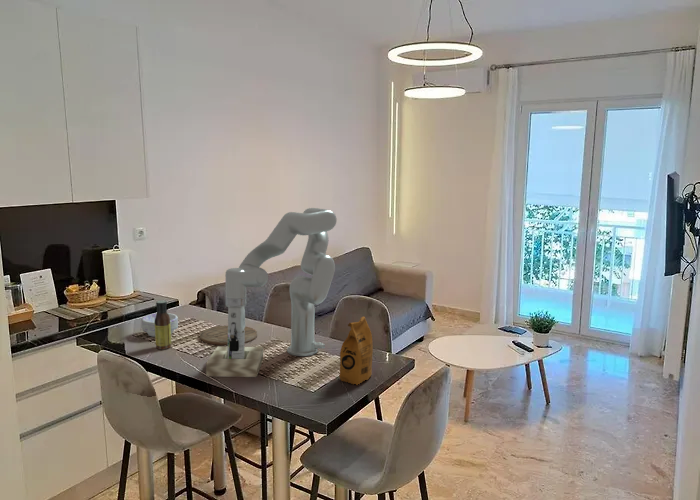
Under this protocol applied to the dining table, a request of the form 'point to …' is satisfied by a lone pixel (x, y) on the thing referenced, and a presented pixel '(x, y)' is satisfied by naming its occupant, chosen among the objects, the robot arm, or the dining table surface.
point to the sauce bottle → (162, 326)
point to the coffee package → (357, 353)
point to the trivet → (224, 335)
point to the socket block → (235, 363)
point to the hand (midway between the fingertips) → (236, 347)
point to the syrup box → (240, 352)
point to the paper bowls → (149, 323)
